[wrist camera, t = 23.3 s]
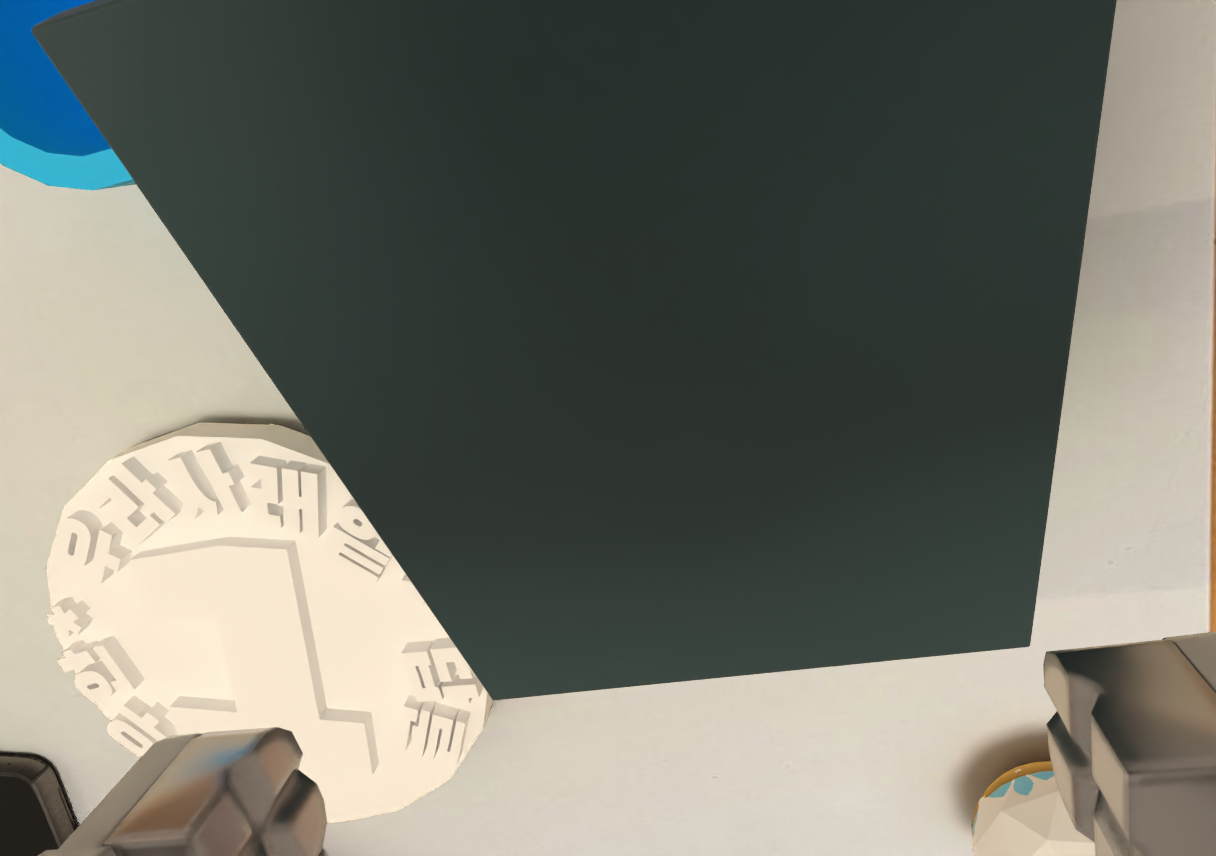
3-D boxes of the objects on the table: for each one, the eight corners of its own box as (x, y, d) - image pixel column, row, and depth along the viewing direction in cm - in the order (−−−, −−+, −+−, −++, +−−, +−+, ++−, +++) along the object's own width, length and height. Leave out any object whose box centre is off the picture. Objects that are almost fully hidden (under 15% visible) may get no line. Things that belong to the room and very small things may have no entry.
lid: (59, 12, 11) (25, 28, 11) (1129, -342, 8) (1166, -346, 8) (496, 674, 22) (492, 701, 22) (1019, 619, 20) (1030, 647, 19)
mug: (314, -113, 25) (142, -202, 18) (362, 159, 28) (232, 180, 21) (-17, -70, 27) (-298, -135, 20) (62, 181, 30) (-157, 207, 23)
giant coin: (71, 698, 40) (24, 741, 38) (99, 346, 33) (43, 368, 30) (444, 836, 41) (424, 888, 38) (560, 518, 33) (546, 555, 30)
